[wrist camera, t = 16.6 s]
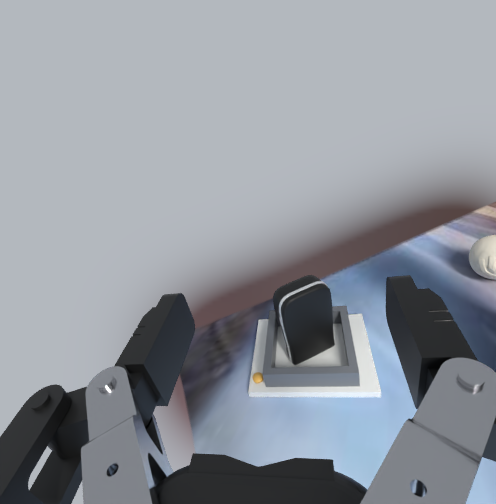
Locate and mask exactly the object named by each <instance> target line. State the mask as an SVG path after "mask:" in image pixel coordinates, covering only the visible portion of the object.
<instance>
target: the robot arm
mask: <svg viewBox="0 0 496 504" xmlns="http://www.w3.org/2000/svg"><path fill="white" fill-rule="evenodd" d="M386 317H387V322H388V326H389V329H390V332H391V335H392V338H393V341H394V344H395V347H396V350H397V353H398V356H399V359H400V362H401V365H402V368H403V371H404V374H405V377H406V380H407V383H408V386H409V389H410V392H411V395H412V398H413V401H414V404H415V407H416V409H418V410H417V412H416V414H415V415H414V417H413V418H412V419H408V420H407V421H406V422H405V423H404V425H403V427H402V428H401V430H400V432H399V434H398V436H397V437H396V439H395V441H394V443H393V445H392V447H391V448H390V450H389V452H388V454H387V456H386V458H385V459H384V461H383V463H382V465H381V467H380V468H379V470H378V472H377V474H376V476H375V478H374V479H373V481H372V483H371V485H370V487H369V489H368V490H367V489H366V488H365V487H363V486H362V485H361V484H359V483H358V482H356V481H355V480H353V479H351V478H349V477H347V476H345V475H343V474H341V473H338V472H335V471H334V465H333V460H330V459H307V458H294V459H290V460H286V461H281V462H277V463H273V464H269V465H265V466H261V467H257V466H253V465H251V464H248V463H245V462H243V461H240V460H237V459H234V458H232V457H229V456H226V455H215V454H193V455H192V459H191V463H190V465H189V466H186V467H184V468H181V469H179V470H177V471H175V472H173V470H172V468H171V466H170V464H169V461H168V459H167V455H166V452H165V449H164V446H163V442H162V439H161V436H160V432H159V429H158V426H157V422H156V419H155V417H154V415H153V412H154V409H155V407H156V406H168V403H169V400H170V398H171V395H172V392H173V390H174V387H175V384H176V381H177V379H178V376H179V373H180V371H181V368H182V365H183V362H184V360H185V357H186V354H187V352H188V349H189V346H190V344H191V341H192V338H193V335H194V331H195V324H194V319H193V317H192V314H191V312H190V309H189V307H188V304H187V302H186V299H185V297H184V295H183V294H182V293H178V294H166V295H163V296H162V297H161V299H160V301H159V303H158V305H157V306H156V307H154V308H152V309H151V310H150V311H149V312H148V313H147V314H145V315H144V317H143V318H142V320H141V321H140V323H139V325H138V328H137V329H136V330H135V332H134V333H133V337H131V338H130V340H129V342H128V344H127V345H126V347H125V349H124V350H123V352H122V354H121V355H120V357H119V359H118V361H117V363H116V364H115V366H114V367H110V368H107V369H105V370H103V371H102V372H100V373H99V374H97V375H96V376H95V377H94V378H93V379H92V380H91V382H90V383H89V385H88V387H84V388H81V389H78V390H75V391H72V392H69V393H66V392H65V391H64V389H63V388H62V387H61V386H60V385H50V386H47V387H45V388H43V389H41V390H39V391H38V392H36V393H35V394H34V395H33V396H31V397H30V398H29V399H28V400H27V401H26V403H25V404H24V405H23V407H22V408H21V410H20V411H19V412H18V413H17V415H16V416H15V418H14V419H13V420H12V422H11V423H10V425H9V426H8V427H7V429H6V430H5V431H4V433H3V434H2V435H1V437H0V504H71V503H72V500H73V499H74V496H75V494H76V492H77V490H78V488H79V485H80V483H81V481H83V499H84V504H466V501H467V498H468V495H469V493H470V490H471V487H472V484H473V481H474V478H475V475H476V473H477V470H478V467H479V464H480V461H481V458H482V457H484V458H487V459H490V460H493V461H496V372H495V371H493V370H492V369H491V368H490V367H488V366H486V365H485V364H483V363H481V362H479V361H478V360H477V358H476V357H475V355H474V353H473V352H472V350H471V348H470V347H469V345H468V343H467V341H466V340H465V338H464V336H463V335H462V333H461V331H460V329H459V328H458V326H457V324H456V323H455V322H454V320H453V317H452V316H451V314H450V312H448V309H447V307H446V305H445V304H444V302H443V300H442V299H441V297H439V296H438V295H437V294H435V293H434V292H433V291H431V290H430V289H429V288H428V289H417V287H416V285H415V283H414V281H413V279H412V277H411V276H410V275H408V276H395V277H387V281H386ZM47 446H48V447H49V448H50V449H51V450H52V452H51V454H50V455H49V457H48V459H47V461H46V463H45V464H44V466H43V468H42V470H41V471H40V473H39V475H38V476H37V478H36V480H35V482H34V484H33V485H32V487H31V489H30V491H29V489H28V481H29V477H30V474H31V473H32V471H33V469H34V468H35V466H36V464H37V462H38V461H39V459H40V457H41V456H42V454H43V452H44V450H45V449H46V447H47Z"/></svg>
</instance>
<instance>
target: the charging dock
mask: <svg viewBox="0 0 496 504" xmlns="http://www.w3.org/2000/svg"><path fill="white" fill-rule="evenodd" d="M332 311H333V333H334V342H335V345H334V346H333V347H331V348H329V349H327V350H326V351H324V352H322V353H320V354H318V355H316V356H314V357H312V358H310V359H308V360H306V361H304V362H301V363H299V364H297V365H294V364H293V363H291V361H290V358H289V357H288V354H287V351H286V343H285V339H284V336H283V332H282V328H281V326H280V324H279V323H278V321H277V318H276V314H275V310H272V311H269V319H262V320H259V322H258V329H257V336H256V342H255V349H254V356H253V363H252V370H251V377H250V383H249V390H248V393H249V396H250V397H381V389H380V385H379V381H378V377H377V373H376V369H375V365H374V361H373V357H372V353H371V349H370V345H369V341H368V336H367V332H366V328H365V324H364V320H363V316H362V314H350V315H348V312H347V306H335V307H332Z"/></svg>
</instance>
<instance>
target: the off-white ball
mask: <svg viewBox="0 0 496 504" xmlns="http://www.w3.org/2000/svg"><path fill="white" fill-rule="evenodd" d="M469 262H470V265H471V267H472V269H473V270H474V271H475V272H476V273H477V274H479V275H481V276H483V277H485V278H488V279H494V280H496V235H491V236H486V237H483V238H481V239H479V240H478V241H476V242H475V243H474V244H473V246H472V247H471V250H470V253H469Z"/></svg>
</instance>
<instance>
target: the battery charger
mask: <svg viewBox="0 0 496 504" xmlns="http://www.w3.org/2000/svg"><path fill="white" fill-rule="evenodd" d="M273 302H274V308H275V314H276V318H277V321H278V323H279V324H280V326H281V328H282V332H283V336H284V339H285V343H286V351H287V354H288V357H289V358H290V361H291V363H293V364H294V365H297V364H299V363H301V362H304V361H306V360H308V359H310V358H312V357H314V356H316V355H318V354H320V353H322V352H324V351H326V350H327V349H329V348H331V347H333V346H334V345H335V342H334V333H333V311H332V300H331V293H330V289H329V288H328V286H327V285H326V284H325V283H324V282H322V281H321V280H320V279H318V278H317V277H315V276H312V275H308V276H305V277H302V278H300V279H297V280H295V281H292V282H290V283H288V284H286V285H284V286H282V287H280V288H278V289H277V290H276V291H275V293H274V296H273Z"/></svg>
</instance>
